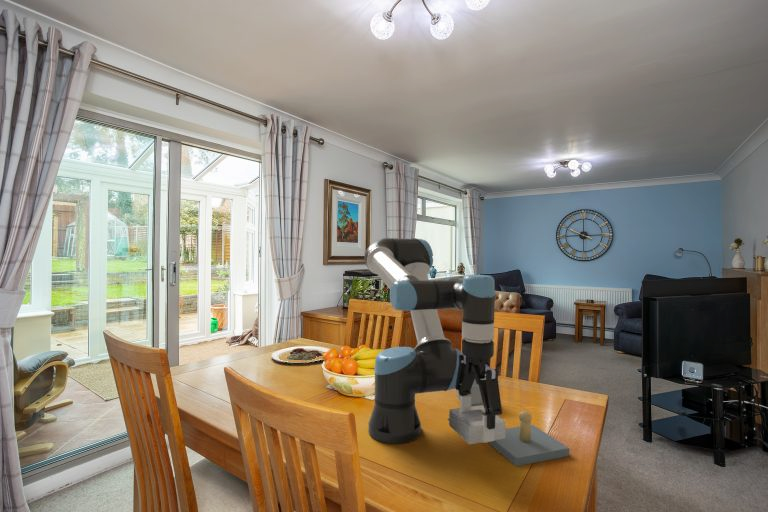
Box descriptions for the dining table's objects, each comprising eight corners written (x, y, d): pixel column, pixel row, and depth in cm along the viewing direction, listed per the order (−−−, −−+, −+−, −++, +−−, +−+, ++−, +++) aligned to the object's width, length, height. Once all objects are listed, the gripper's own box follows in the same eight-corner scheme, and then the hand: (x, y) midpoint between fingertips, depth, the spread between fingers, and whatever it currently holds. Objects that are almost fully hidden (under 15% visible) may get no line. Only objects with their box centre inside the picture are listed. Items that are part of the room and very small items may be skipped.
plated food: (302, 370, 168) (302, 362, 168) (258, 359, 184) (258, 352, 184) (345, 355, 193) (345, 348, 193) (303, 347, 209) (303, 340, 209)
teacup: (489, 410, 125) (489, 386, 125) (455, 408, 127) (455, 384, 127) (486, 395, 138) (486, 373, 138) (456, 393, 141) (456, 371, 141)
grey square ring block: (469, 444, 87) (469, 427, 87) (449, 425, 96) (449, 409, 96) (505, 438, 90) (505, 421, 89) (482, 420, 99) (482, 405, 99)
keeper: (516, 466, 92) (516, 426, 92) (484, 439, 106) (484, 404, 105) (569, 455, 97) (569, 418, 97) (532, 431, 110) (532, 398, 110)
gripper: (520, 350, 83) (518, 451, 83) (467, 328, 104) (466, 409, 104) (490, 352, 80) (488, 457, 81) (442, 330, 102) (441, 413, 102)
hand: (476, 430), depth 93 cm, fingers closed on grey square ring block, 10 cm apart
